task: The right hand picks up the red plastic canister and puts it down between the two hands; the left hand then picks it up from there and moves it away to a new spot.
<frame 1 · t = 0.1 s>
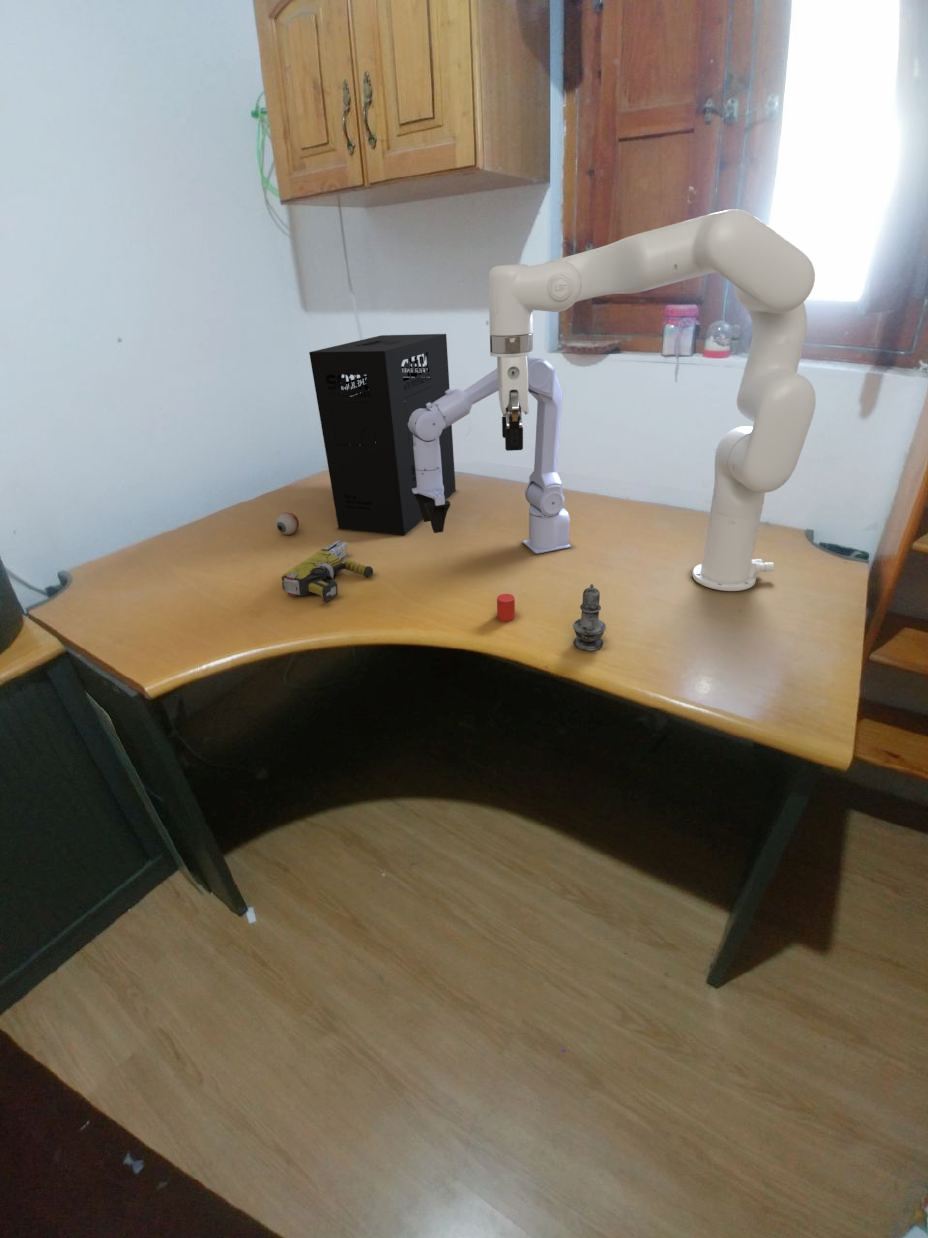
left hand: (433, 526, 138), 10 cm above the table, tool pointing down, fingers open, 7 cm apart
right hand: (512, 443, 115), 31 cm above the table, tool pointing down, fingers open, 9 cm apart
grey tiered stone figure: (588, 643, 110), on the table
canister: (506, 617, 120), on the table
cardboard box: (401, 509, 178), on the table
toy gun: (338, 579, 139), on the table
eyeball: (289, 534, 165), on the table
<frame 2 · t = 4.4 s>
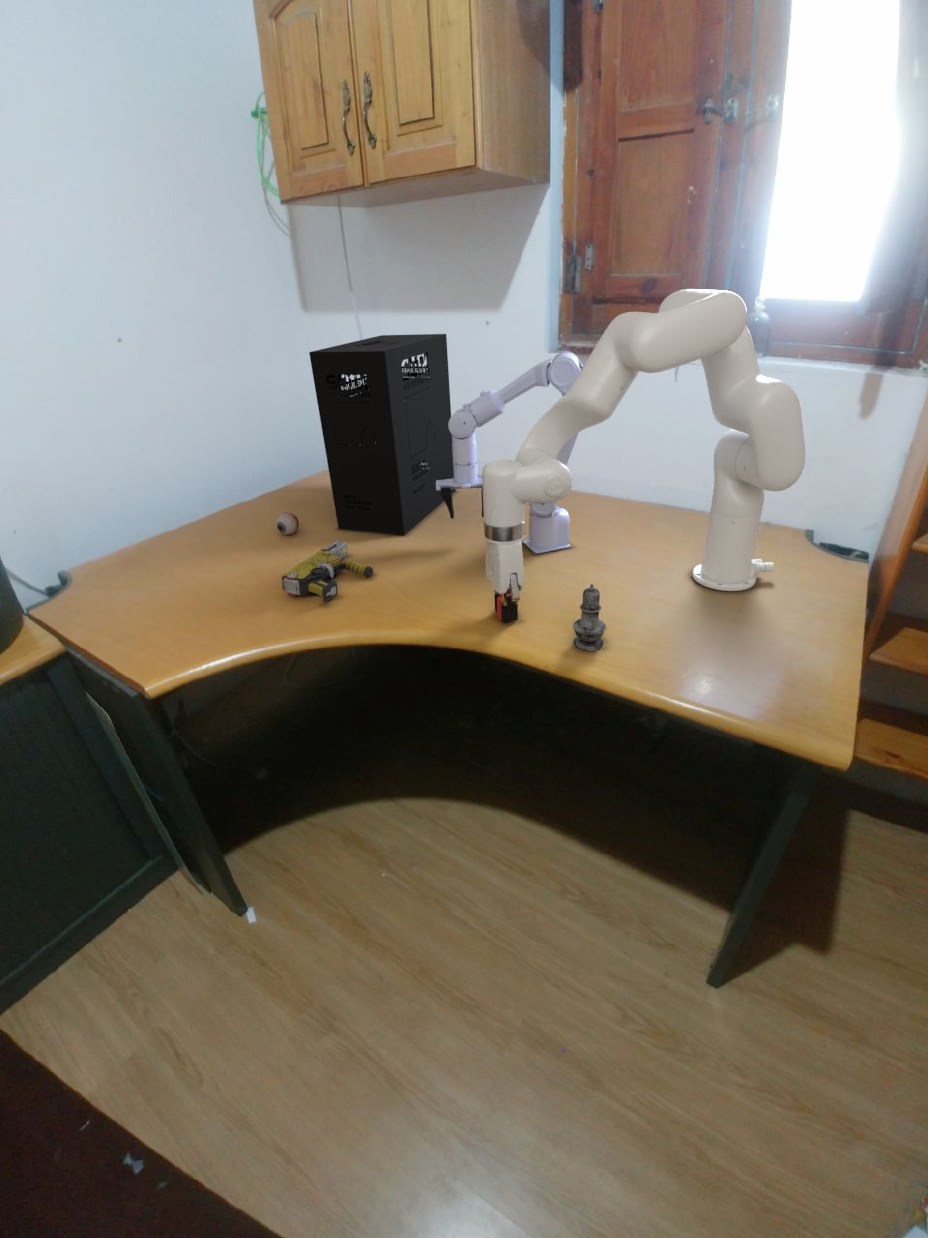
left hand: (467, 516, 150), 7 cm above the table, tool pointing down, fingers open, 7 cm apart
right hand: (506, 615, 120), 0 cm above the table, tool pointing down, fingers closed on canister, 3 cm apart
canister: (506, 617, 120), on the table, touching right hand
everything else where it was.
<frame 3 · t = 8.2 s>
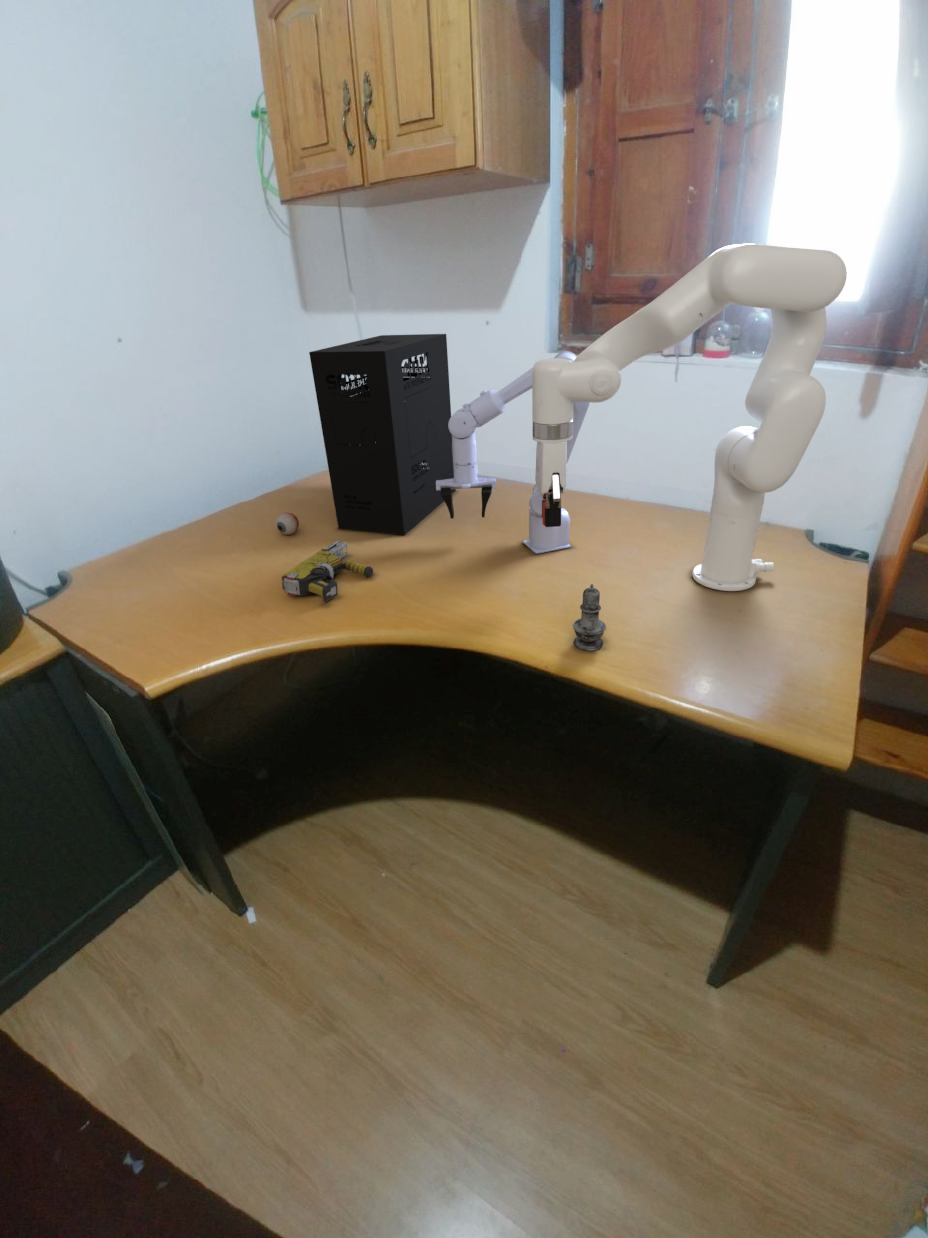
left hand: (467, 516, 150), 7 cm above the table, tool pointing down, fingers open, 7 cm apart
right hand: (551, 521, 122), 15 cm above the table, tool pointing down, fingers closed on canister, 3 cm apart
canister: (551, 523, 123), point 15 cm above the table, touching right hand
everything else where it was.
when the right hand's fingers open (1 cm above the table, at t = 12.0 s): canister drops 1 cm, on the table.
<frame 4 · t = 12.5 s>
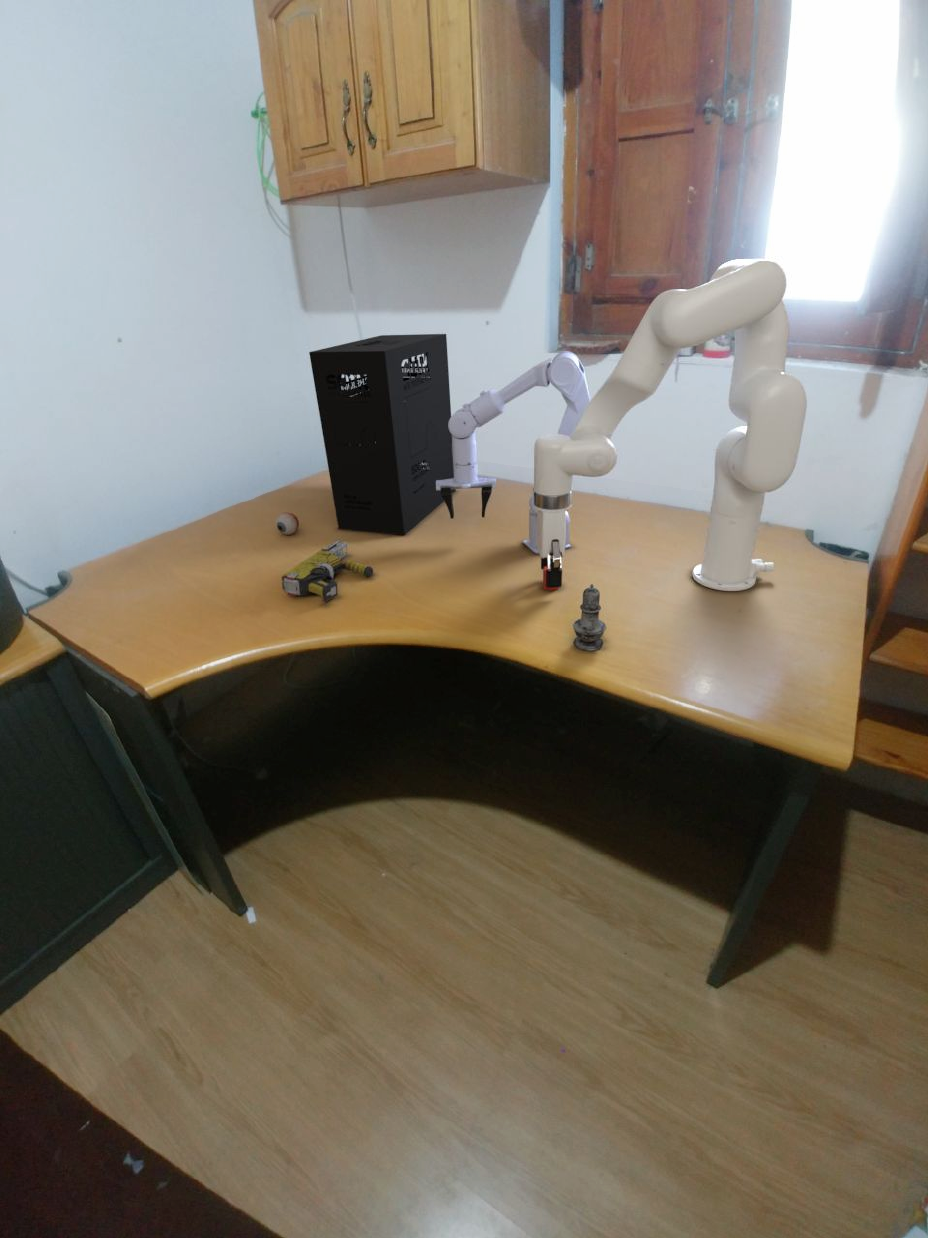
left hand: (467, 516, 150), 7 cm above the table, tool pointing down, fingers open, 7 cm apart
right hand: (550, 577, 129), 2 cm above the table, tool pointing down, fingers open, 8 cm apart
canister: (551, 586, 130), on the table
everything else where it was.
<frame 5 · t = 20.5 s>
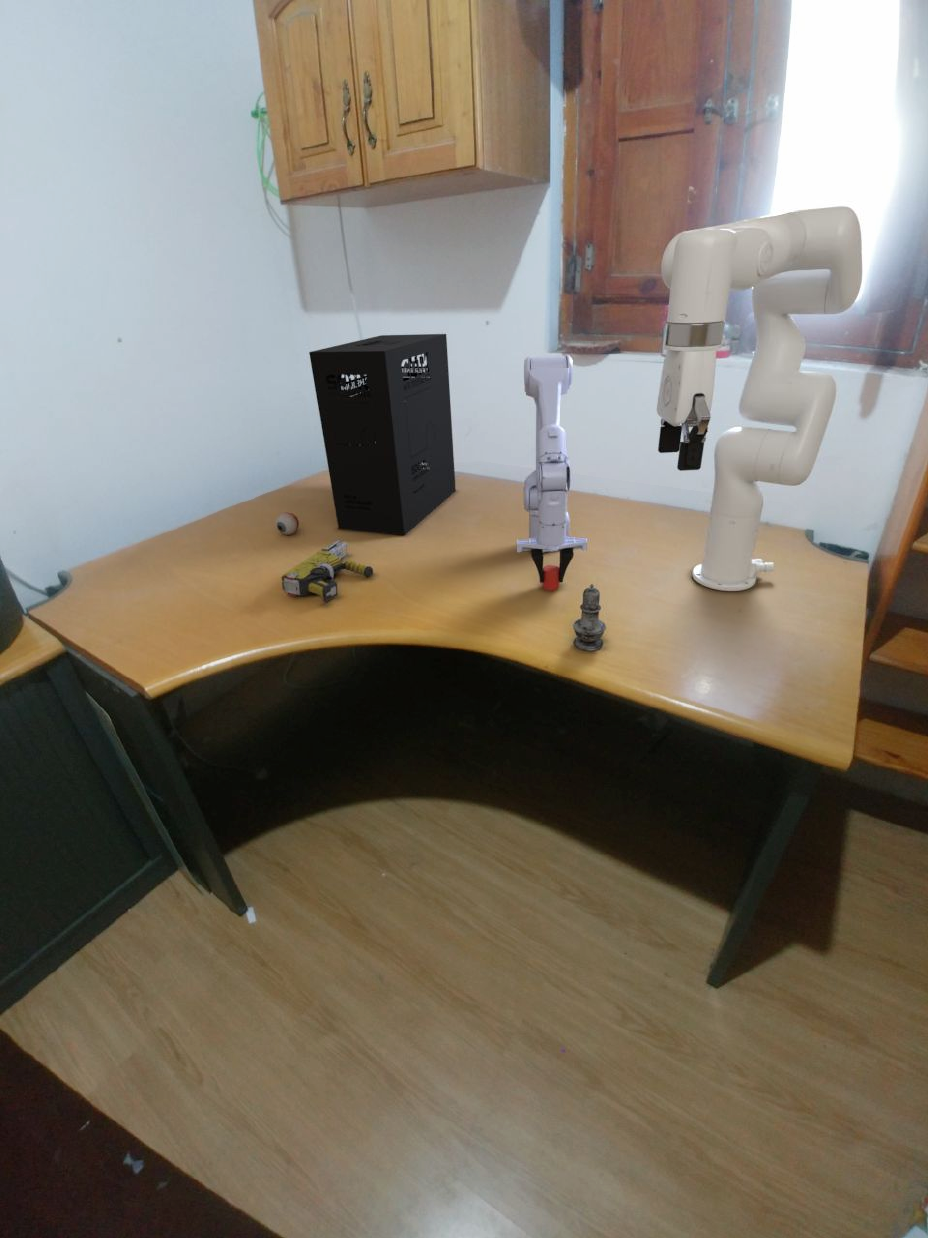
left hand: (550, 580, 130), 2 cm above the table, tool pointing down, fingers closed on canister, 3 cm apart
right hand: (678, 460, 91), 34 cm above the table, tool pointing down, fingers open, 9 cm apart
canister: (550, 586, 130), on the table, touching left hand
everything else where it was.
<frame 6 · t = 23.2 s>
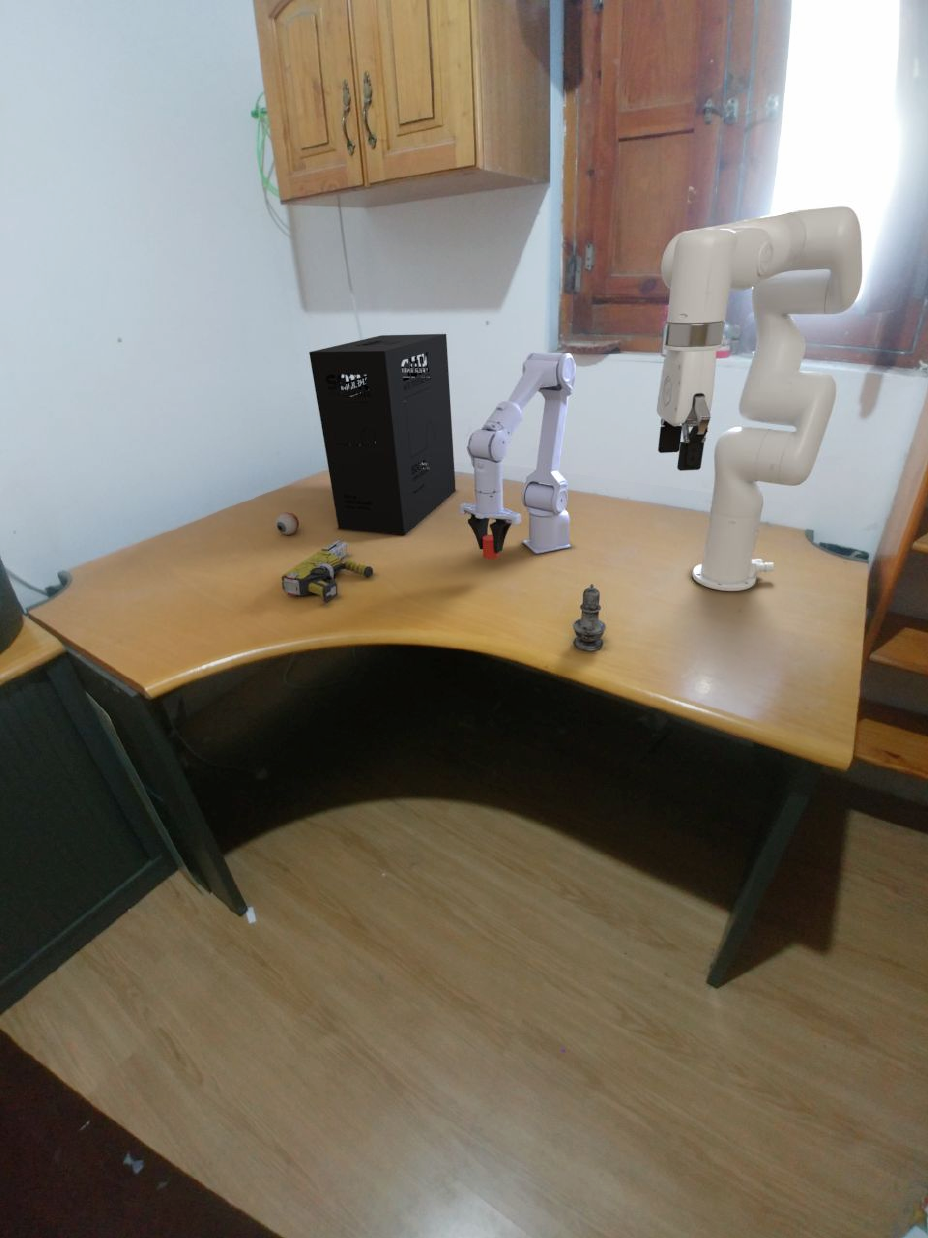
left hand: (490, 549, 132), 7 cm above the table, tool pointing down, fingers closed on canister, 3 cm apart
right hand: (678, 460, 91), 34 cm above the table, tool pointing down, fingers open, 9 cm apart
canister: (491, 555, 133), point 5 cm above the table, touching left hand
everything else where it was.
when the left hand's fingers open (3 cm above the table, at t = 25.8 s): canister drops 1 cm, on the table.
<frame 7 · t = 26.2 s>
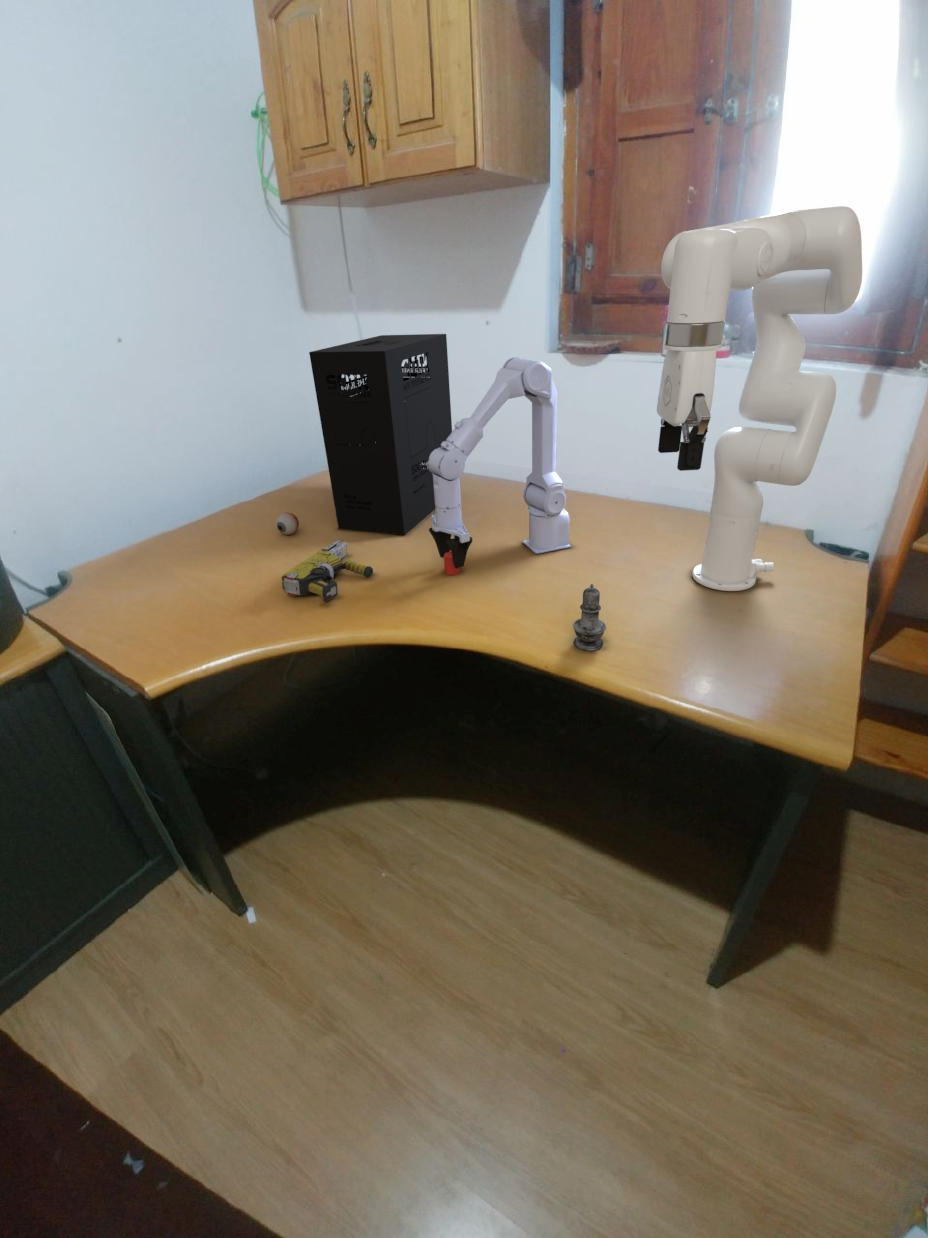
left hand: (452, 561, 138), 3 cm above the table, tool pointing down, fingers open, 6 cm apart
right hand: (678, 460, 91), 34 cm above the table, tool pointing down, fingers open, 9 cm apart
canister: (452, 571, 139), on the table
everything else where it was.
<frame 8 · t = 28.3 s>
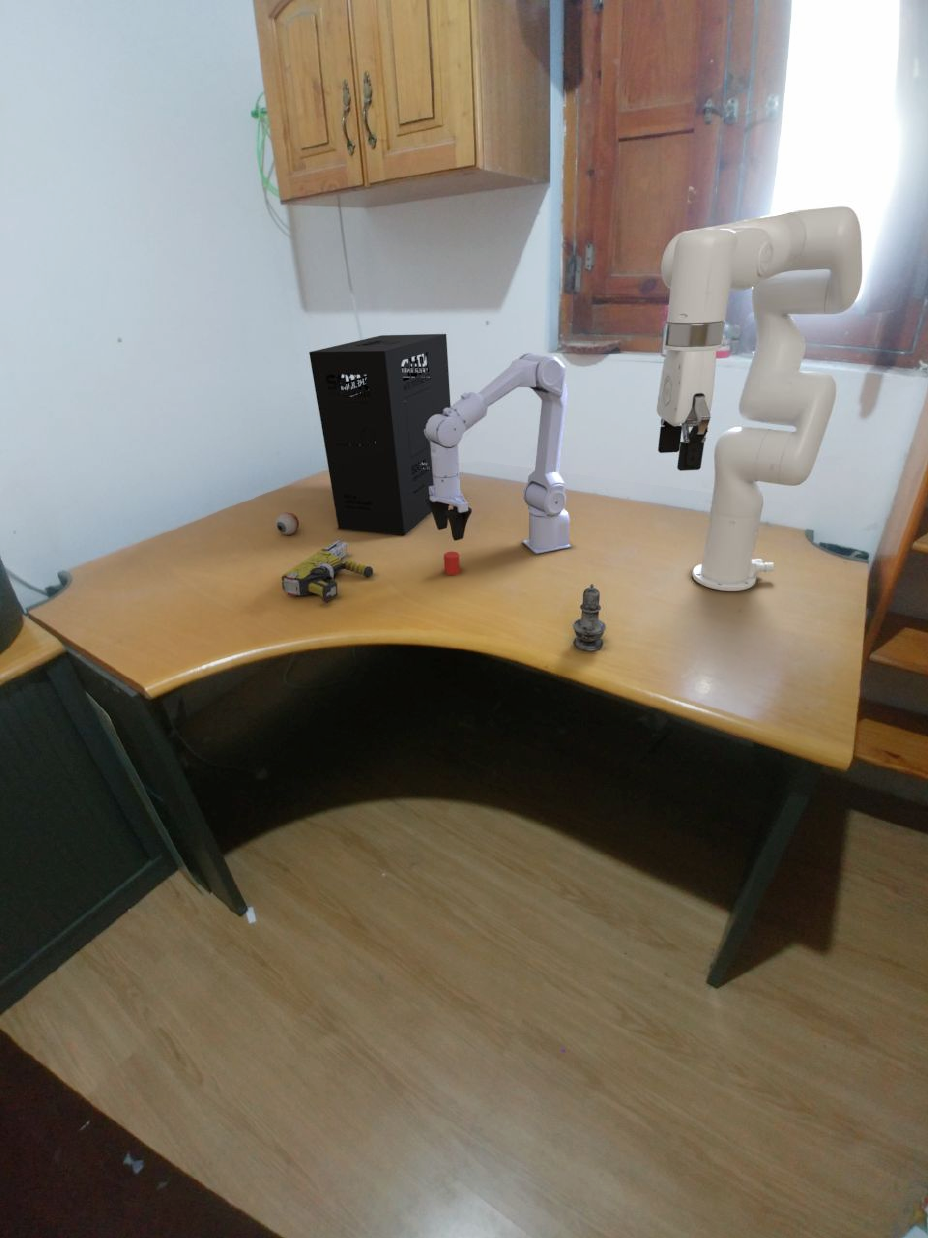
left hand: (450, 533, 135), 9 cm above the table, tool pointing down, fingers open, 7 cm apart
right hand: (678, 460, 91), 34 cm above the table, tool pointing down, fingers open, 9 cm apart
nothing on the table moved.
at the end: canister inside the target area (0.0 cm from its centre), on the table; canister tilted 0°; the two hands never held the canister at the same time; the left hand is holding nothing; the right hand is holding nothing; canister at rest at the end (0.0 cm/s) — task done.
